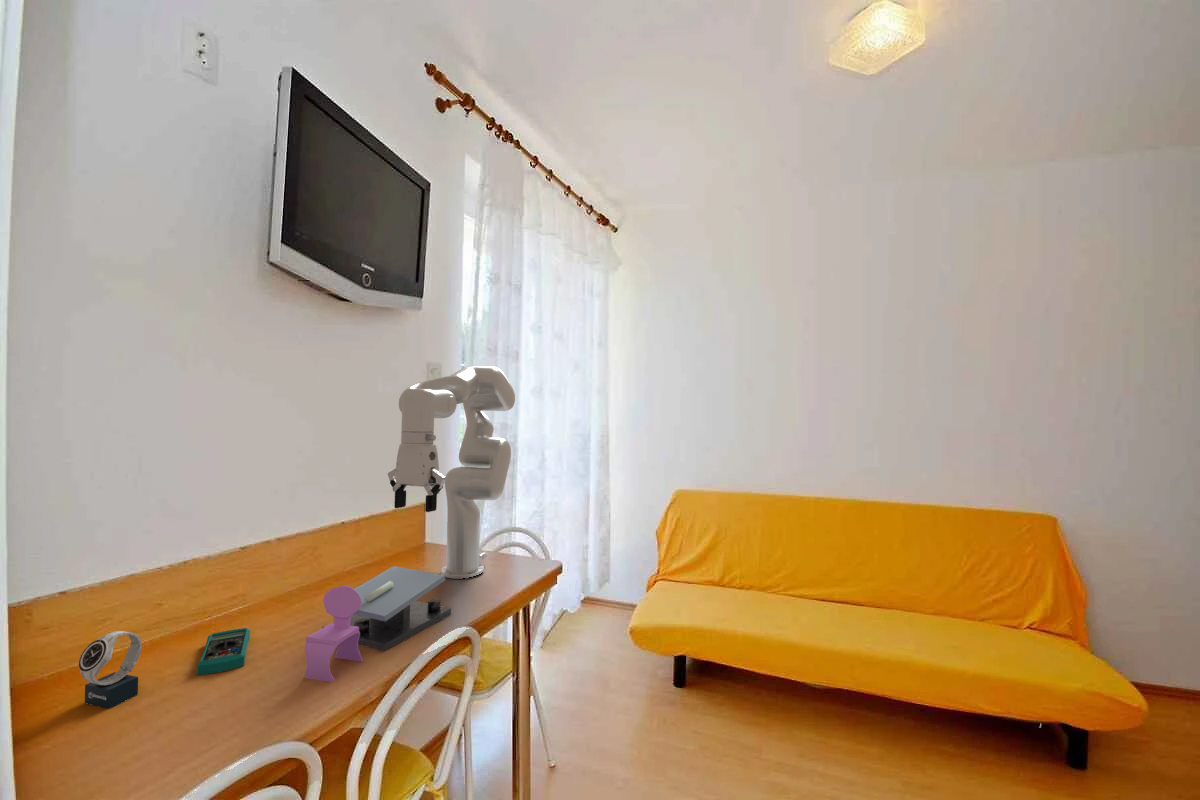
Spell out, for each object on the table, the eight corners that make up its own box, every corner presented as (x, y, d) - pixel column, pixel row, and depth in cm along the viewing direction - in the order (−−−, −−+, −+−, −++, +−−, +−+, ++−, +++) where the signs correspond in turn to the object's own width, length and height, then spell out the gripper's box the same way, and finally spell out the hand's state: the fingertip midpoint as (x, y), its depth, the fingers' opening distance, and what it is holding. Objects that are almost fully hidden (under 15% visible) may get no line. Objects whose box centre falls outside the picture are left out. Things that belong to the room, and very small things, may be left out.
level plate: (394, 570, 133) (393, 559, 133) (445, 579, 127) (444, 568, 127) (329, 608, 116) (328, 596, 116) (385, 621, 110) (384, 608, 109)
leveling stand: (393, 601, 135) (394, 576, 135) (451, 614, 128) (451, 587, 128) (321, 634, 115) (322, 604, 115) (384, 651, 108) (385, 619, 108)
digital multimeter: (195, 679, 97) (196, 663, 97) (208, 646, 110) (208, 632, 110) (243, 670, 101) (244, 654, 101) (250, 639, 114) (250, 625, 114)
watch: (70, 710, 86) (72, 642, 86) (125, 684, 94) (127, 622, 94) (95, 715, 85) (97, 647, 85) (149, 689, 93) (150, 626, 93)
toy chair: (297, 678, 97) (299, 596, 97) (332, 656, 106) (333, 581, 106) (336, 684, 95) (338, 601, 96) (368, 661, 104) (369, 585, 104)
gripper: (455, 439, 129) (453, 510, 129) (401, 437, 136) (399, 503, 136) (434, 441, 122) (432, 515, 122) (378, 438, 129) (376, 508, 129)
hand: (415, 509), depth 129 cm, fingers open, 9 cm apart
